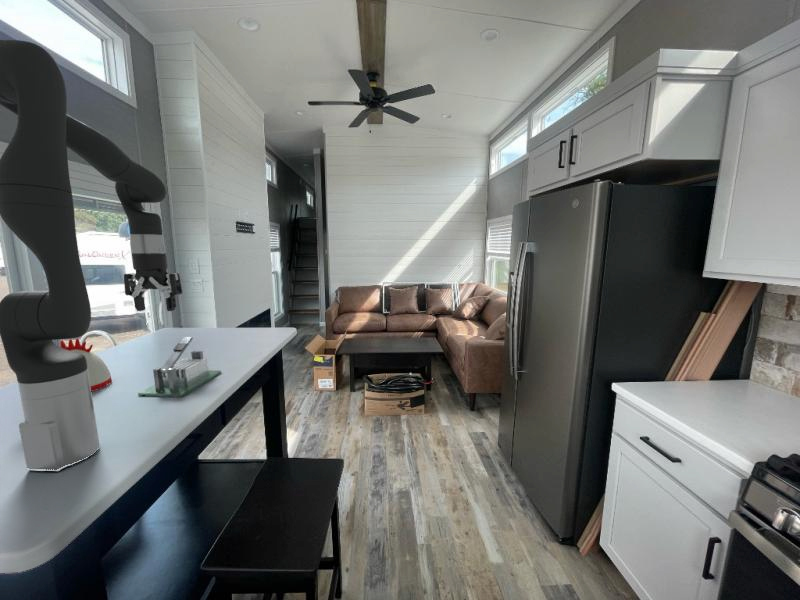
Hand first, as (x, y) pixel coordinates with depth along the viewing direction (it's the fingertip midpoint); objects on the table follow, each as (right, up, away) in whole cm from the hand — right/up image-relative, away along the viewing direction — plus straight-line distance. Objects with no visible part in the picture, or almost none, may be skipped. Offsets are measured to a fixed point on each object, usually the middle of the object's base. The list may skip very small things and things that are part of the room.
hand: (156, 310), depth 91 cm
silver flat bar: (+1, -14, +7) cm, 15 cm away
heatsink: (+1, -23, +9) cm, 25 cm away
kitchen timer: (-28, -24, +7) cm, 37 cm away
